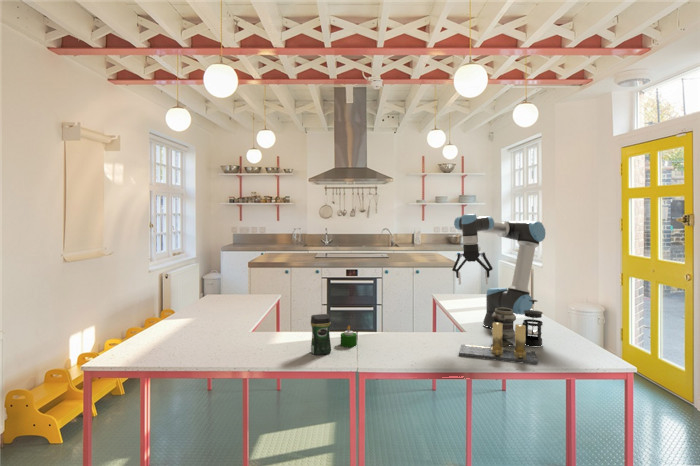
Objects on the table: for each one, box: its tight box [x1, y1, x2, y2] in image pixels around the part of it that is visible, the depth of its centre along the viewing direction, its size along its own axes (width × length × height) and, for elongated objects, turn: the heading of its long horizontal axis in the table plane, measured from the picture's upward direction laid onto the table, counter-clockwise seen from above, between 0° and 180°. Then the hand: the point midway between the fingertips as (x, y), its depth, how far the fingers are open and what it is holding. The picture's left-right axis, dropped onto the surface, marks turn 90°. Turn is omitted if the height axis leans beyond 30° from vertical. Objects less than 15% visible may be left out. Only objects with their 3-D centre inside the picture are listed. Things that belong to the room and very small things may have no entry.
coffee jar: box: [310, 313, 332, 356], centre depth 200 cm, size 10×8×19 cm
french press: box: [521, 299, 544, 347], centre depth 213 cm, size 12×9×23 cm
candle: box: [340, 325, 358, 348], centre depth 212 cm, size 8×8×10 cm
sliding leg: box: [491, 322, 504, 355], centre depth 195 cm, size 5×8×14 cm, turn 160°
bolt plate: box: [458, 323, 539, 365], centre depth 196 cm, size 34×14×15 cm, turn 70°
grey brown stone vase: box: [490, 308, 517, 347], centre depth 214 cm, size 12×12×18 cm
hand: (473, 284), depth 218 cm, fingers open, 13 cm apart
